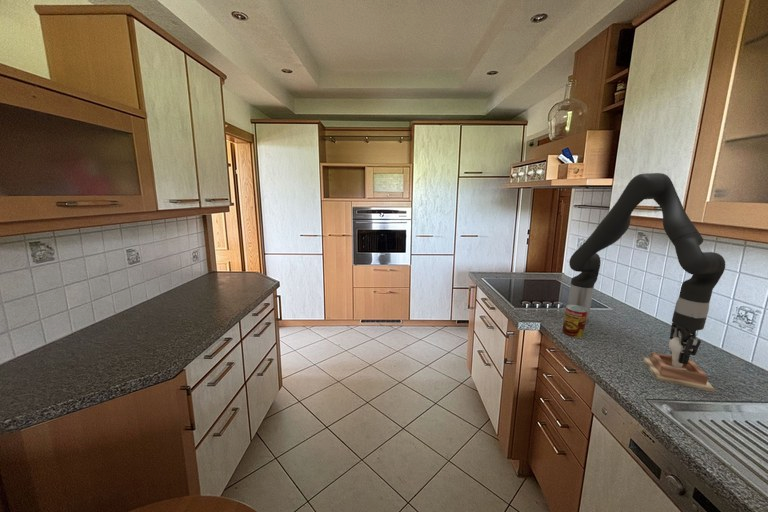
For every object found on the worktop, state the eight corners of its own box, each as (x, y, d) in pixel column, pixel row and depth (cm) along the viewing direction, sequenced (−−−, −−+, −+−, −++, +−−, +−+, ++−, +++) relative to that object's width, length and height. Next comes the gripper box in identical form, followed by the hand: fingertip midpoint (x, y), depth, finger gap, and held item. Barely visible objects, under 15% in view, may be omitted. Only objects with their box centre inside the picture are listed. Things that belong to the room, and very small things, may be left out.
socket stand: (642, 358, 112) (644, 349, 111) (692, 368, 106) (694, 358, 105) (657, 380, 99) (659, 369, 98) (714, 392, 94) (717, 380, 93)
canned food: (558, 331, 133) (562, 306, 130) (569, 328, 136) (572, 303, 133) (576, 339, 126) (580, 313, 123) (587, 335, 129) (591, 309, 127)
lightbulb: (680, 374, 99) (688, 343, 96) (659, 364, 104) (666, 334, 102) (693, 371, 100) (701, 341, 98) (671, 361, 106) (678, 332, 104)
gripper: (666, 302, 106) (656, 346, 109) (685, 318, 93) (673, 367, 97) (694, 306, 103) (683, 351, 106) (718, 323, 90) (704, 373, 94)
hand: (678, 358), depth 102 cm, fingers closed on lightbulb, 5 cm apart
